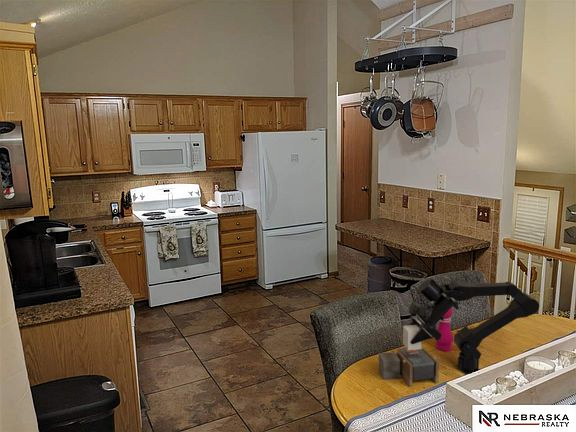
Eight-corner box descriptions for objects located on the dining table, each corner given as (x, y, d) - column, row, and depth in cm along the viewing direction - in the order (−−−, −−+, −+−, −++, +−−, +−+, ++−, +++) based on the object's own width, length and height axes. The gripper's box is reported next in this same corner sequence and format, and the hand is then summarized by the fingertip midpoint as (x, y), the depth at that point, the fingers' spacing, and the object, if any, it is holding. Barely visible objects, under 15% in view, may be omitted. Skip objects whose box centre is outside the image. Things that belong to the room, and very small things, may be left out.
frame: (425, 368, 168) (425, 347, 167) (439, 383, 158) (440, 361, 156) (395, 371, 166) (395, 351, 165) (408, 387, 156) (408, 365, 154)
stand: (394, 369, 168) (394, 352, 167) (399, 378, 161) (400, 360, 160) (378, 370, 167) (378, 353, 166) (383, 379, 161) (383, 361, 160)
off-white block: (416, 342, 168) (416, 324, 167) (421, 349, 162) (421, 330, 161) (403, 343, 167) (403, 325, 166) (407, 350, 162) (408, 331, 161)
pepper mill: (431, 344, 187) (432, 299, 184) (448, 343, 188) (449, 298, 185) (438, 352, 180) (440, 305, 177) (456, 351, 181) (457, 304, 178)
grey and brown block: (417, 361, 170) (418, 346, 169) (434, 377, 157) (434, 361, 156) (398, 363, 168) (398, 348, 167) (412, 380, 156) (413, 364, 155)
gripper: (414, 287, 171) (385, 316, 172) (433, 304, 153) (401, 337, 154) (433, 305, 173) (405, 334, 174) (455, 324, 155) (423, 356, 156)
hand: (408, 339), depth 164 cm, fingers closed on off-white block, 5 cm apart
